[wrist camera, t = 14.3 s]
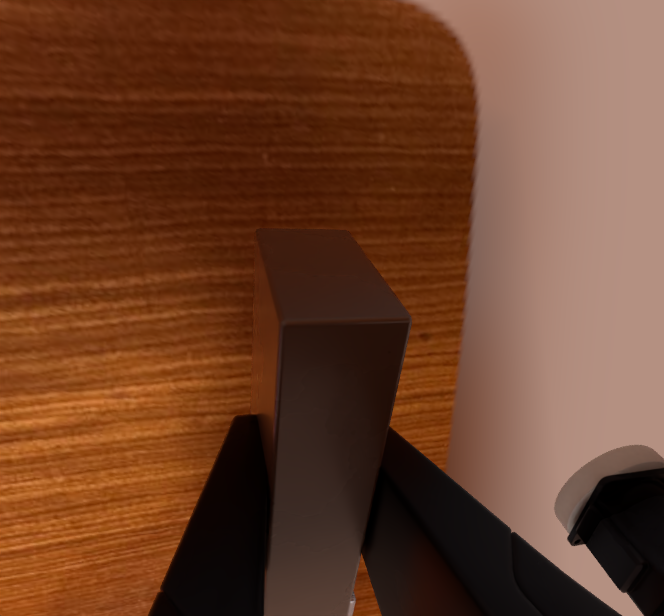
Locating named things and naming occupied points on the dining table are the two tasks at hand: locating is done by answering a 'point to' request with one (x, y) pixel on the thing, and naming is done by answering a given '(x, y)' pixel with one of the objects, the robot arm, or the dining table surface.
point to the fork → (320, 409)
